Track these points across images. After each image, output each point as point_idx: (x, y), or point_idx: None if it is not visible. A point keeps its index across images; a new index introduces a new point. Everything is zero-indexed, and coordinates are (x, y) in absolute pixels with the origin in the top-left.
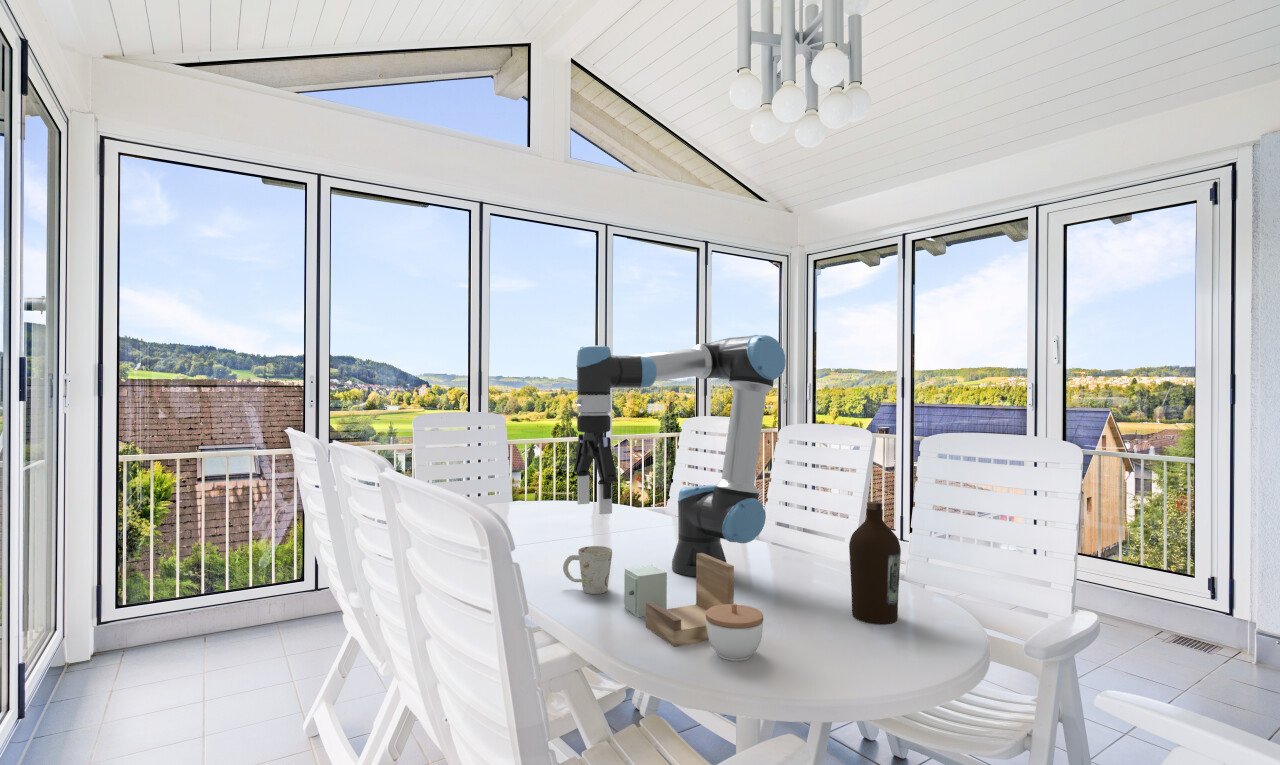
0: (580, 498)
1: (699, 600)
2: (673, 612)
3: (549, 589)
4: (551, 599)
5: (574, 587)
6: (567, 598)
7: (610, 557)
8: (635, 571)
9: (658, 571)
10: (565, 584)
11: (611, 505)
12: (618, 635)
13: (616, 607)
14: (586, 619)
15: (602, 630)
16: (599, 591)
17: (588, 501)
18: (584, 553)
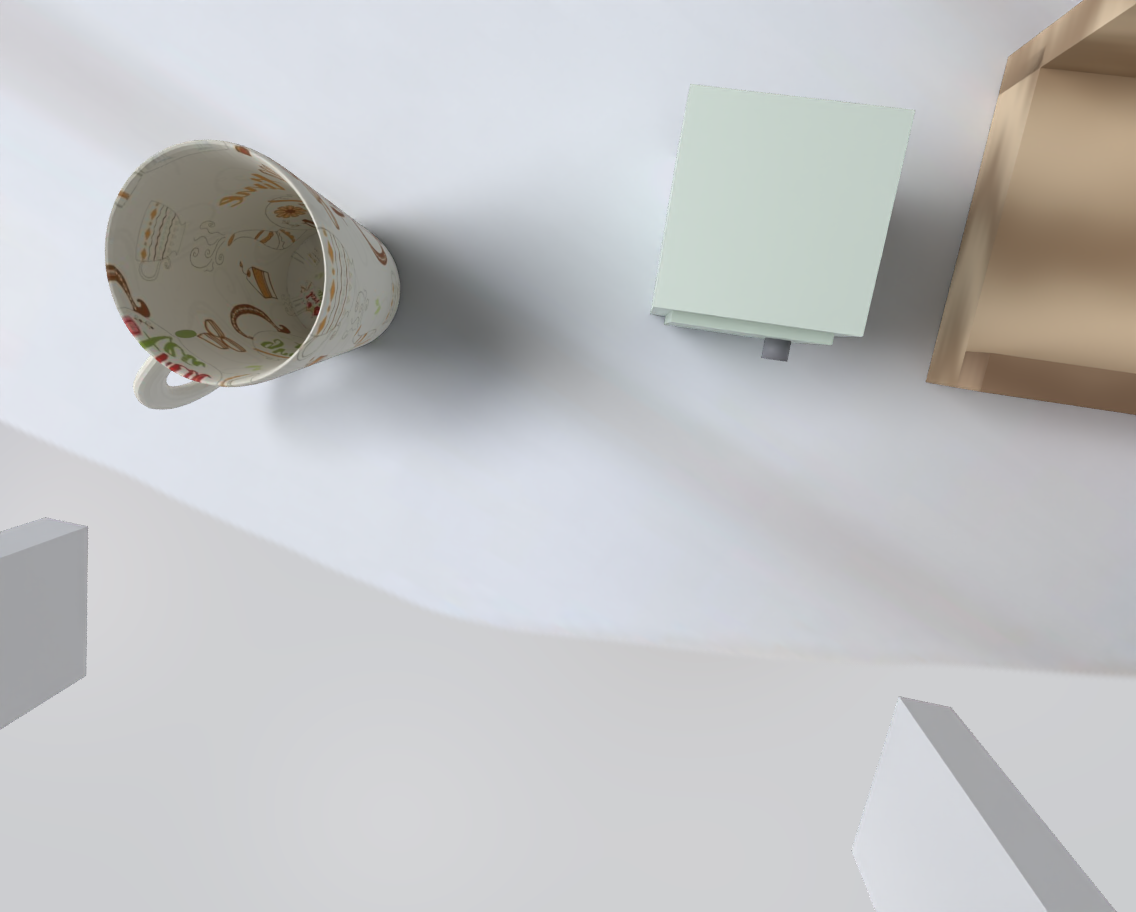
0: (9, 694)
1: (1098, 57)
2: (1053, 266)
3: (226, 459)
4: (362, 522)
5: None
6: (385, 458)
7: (321, 202)
8: (757, 288)
9: (857, 148)
10: None
11: (1012, 795)
12: (925, 533)
13: (619, 340)
14: (678, 536)
15: (833, 553)
16: (397, 297)
17: (61, 552)
18: (263, 380)
